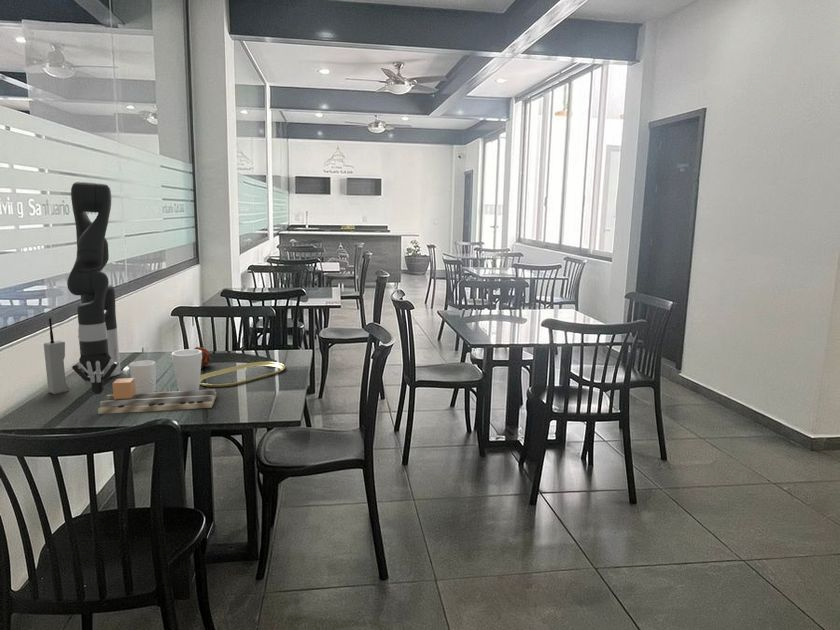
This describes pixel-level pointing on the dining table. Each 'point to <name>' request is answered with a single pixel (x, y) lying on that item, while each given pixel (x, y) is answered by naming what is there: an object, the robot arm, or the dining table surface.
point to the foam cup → (187, 368)
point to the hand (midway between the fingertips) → (98, 393)
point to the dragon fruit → (204, 356)
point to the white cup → (144, 375)
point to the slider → (124, 389)
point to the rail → (160, 401)
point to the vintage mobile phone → (55, 364)
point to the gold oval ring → (238, 369)
